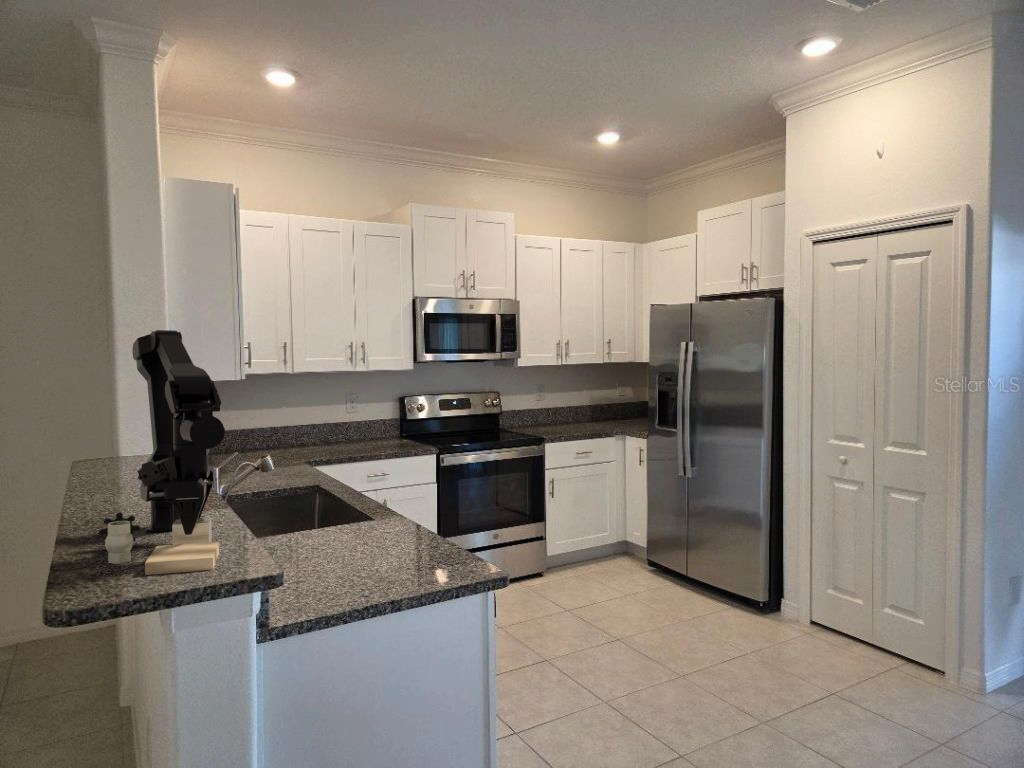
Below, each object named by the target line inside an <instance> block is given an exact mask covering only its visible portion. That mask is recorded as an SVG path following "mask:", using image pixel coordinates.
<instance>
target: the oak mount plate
mask: <svg viewBox="0 0 1024 768" xmlns="http://www.w3.org/2000/svg"><path fill="white" fill-rule="evenodd" d="M219 555H220V541H212V542H208V543H194V544H180V545H173V544H167V545H156V547H155V548H154V550H152V552H151V553H150V555H149V556H148V558H147V559H146V560H145V562H144V573H145V576H151V575H152V576H153V575H163V574H174V573H175V574H176V573H188V572H189V573H190V572H200V571H211V570H212V571H213V570H214V568H215V566H216V563H217V560H218V558H219Z"/></svg>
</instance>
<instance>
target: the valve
mask: <svg viewBox="0 0 1024 768" xmlns="http://www.w3.org/2000/svg"><path fill="white" fill-rule="evenodd" d="M123 516H124V514H123V512H122V511H117V512H116V513H115V518H114V519H111V518H110V517H109V516H106V517H104V518H103V523H104V524H106V527H105V528H104V527H102V528H100V529H99V530H98V535H99V536H104V535H105V536H106V538H105V539H104V541H103V545H104V546H105V550H106V551H107V552H108V554H107V555H108V561H107V562H108V564H109V563H112V564H111V565H113V564H114V565H117V564H118V565H121V564H124V563H127V562H128V563H129V562H131V560H132V555H131V554H132V553H131V549H132V548H133V545H134V542H136V536H135V535H133V533H134V532H137V533H138V532H140V530H141V526H140V525H139V524H134V523H133V522H135V520H136V517H135V515H134V514H130V515H128V517H127V518H126V517H123Z"/></svg>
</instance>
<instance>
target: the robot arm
mask: <svg viewBox="0 0 1024 768" xmlns="http://www.w3.org/2000/svg"><path fill="white" fill-rule="evenodd" d="M132 359H133V361H136V370H137V372H139V374H140V375H141V376H142V377H143V378H144V380H145V381H146V384H147V393H148V394H147V395H148V405H149V406H148V407H149V416H150V427H151V438H152V439H151V440H152V448H153V449H152V450H153V451H152V452H151V454H150V456H149V458H148V460H147V462H143V463H142V464H141V467H140V468H139V469H138V470H137V471H136V472H137V474H138V476H137V477H138V478H137V479H138V480H139V481H141V483H140V488H139V490H140V491H139V492H140V498H141V500H143V501H144V502H146V503H147V502H149V503H150V505H149V506H150V524H149V525H148V527H146V529H145V532H147V533H148V532H149V533H151V532H152V533H153V532H166V531H167V532H169V531H172V525H173V523H174V522H175V520H179V519H181V523H182V526H183V530H184V533H185V535H191V534H192V532H193V530H194V527H195V524H196V522H197V519H198V518H202V514H203V512H204V509H205V506H206V504H207V501H208V499H209V497H210V494H211V491H212V488H213V486H214V484H215V482H214V481H215V480H216V469H215V468H214V467H213V466H211V465H210V464H209V453H210V449H213V448H215V447H218V445H220V444H221V443H222V442H223V439H224V437H225V435H226V434H225V433H226V428H225V426H224V423H223V422H222V421H221V420H220V419H219V418H218V417H216V416H214V414H213V413H214V412H215V413H218V412H221V405H222V400H221V398H220V394H219V392H218V389H217V386H216V385H215V381H214V380H212V379H211V377H210V375H209V373H207V371H206V370H205V369H204V368H201V367H199V366H197V365H195V364H194V363H193V360H192V358H191V357H190V354H189V353H188V351H187V349H186V347H185V345H184V343H183V335H182V333H181V331H178V330H175V329H174V330H171V329H170V330H168V329H167V330H166V329H156V330H153V331H151V333H149V334H146V335H143V336H140V337H137V338H136V340H135V341H134V342H133V344H132ZM207 480H210V481H207Z"/></svg>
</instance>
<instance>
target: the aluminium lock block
mask: <svg viewBox="0 0 1024 768" xmlns="http://www.w3.org/2000/svg"><path fill="white" fill-rule="evenodd" d="M171 531H172V533H171V534H172V540H171V541H172V545H180V544H194V543H208V542H213V541H212V540H213V539H212V538H213V537H212V533H213V532H212V517H200V518H198V519H197V522H196V524H195V527H194V530H193V532H192V534H191V535H185V533H184V530H183V526H182V523H181V519H179V520H175V522H174V523H173V525H172V530H171Z"/></svg>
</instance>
